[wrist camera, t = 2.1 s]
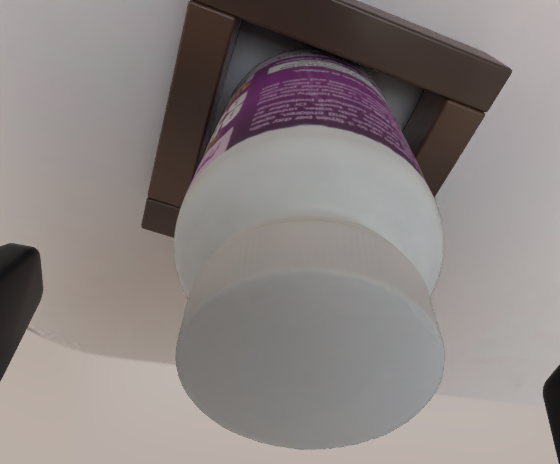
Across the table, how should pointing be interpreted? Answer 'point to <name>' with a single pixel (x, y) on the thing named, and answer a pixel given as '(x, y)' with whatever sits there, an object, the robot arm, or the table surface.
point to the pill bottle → (309, 262)
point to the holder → (339, 41)
